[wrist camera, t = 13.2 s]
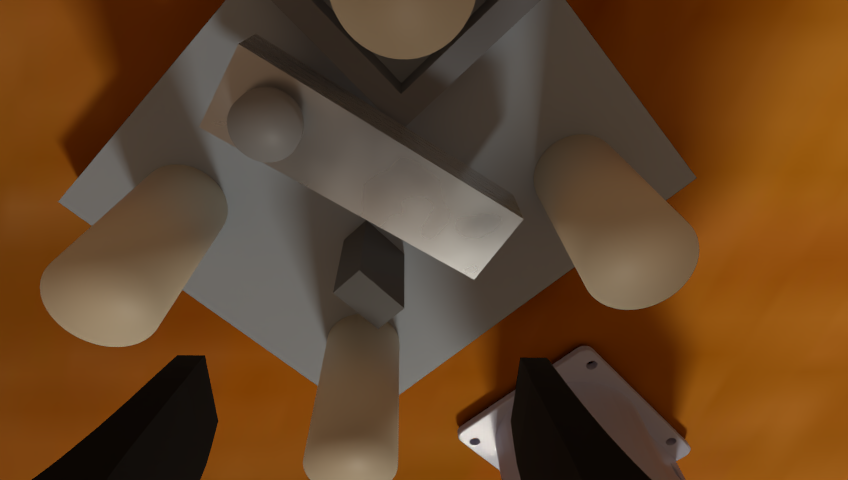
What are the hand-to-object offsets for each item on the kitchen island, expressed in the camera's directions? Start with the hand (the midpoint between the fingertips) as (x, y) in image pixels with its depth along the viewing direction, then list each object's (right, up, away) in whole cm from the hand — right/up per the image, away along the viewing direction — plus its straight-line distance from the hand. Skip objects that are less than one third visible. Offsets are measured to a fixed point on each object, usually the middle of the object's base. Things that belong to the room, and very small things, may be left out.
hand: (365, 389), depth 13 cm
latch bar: (0, +6, +4) cm, 7 cm away
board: (0, +6, +8) cm, 10 cm away
